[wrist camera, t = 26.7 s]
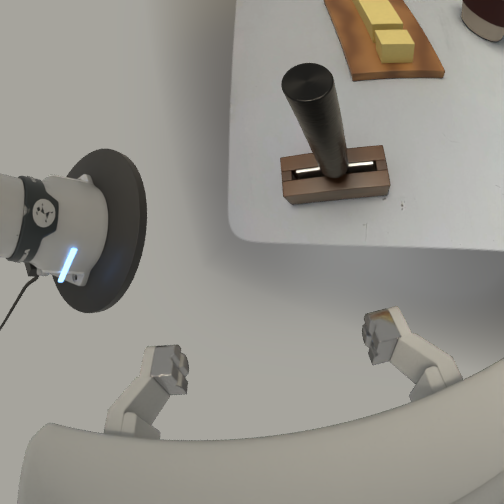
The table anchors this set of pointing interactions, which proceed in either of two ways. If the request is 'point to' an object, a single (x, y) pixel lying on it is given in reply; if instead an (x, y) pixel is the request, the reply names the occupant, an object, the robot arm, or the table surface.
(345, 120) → the table surface
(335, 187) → the knife holder
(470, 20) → the coffee cup
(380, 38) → the butter slice
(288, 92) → the knife
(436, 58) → the cutting board
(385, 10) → the butter block
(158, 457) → the robot arm
